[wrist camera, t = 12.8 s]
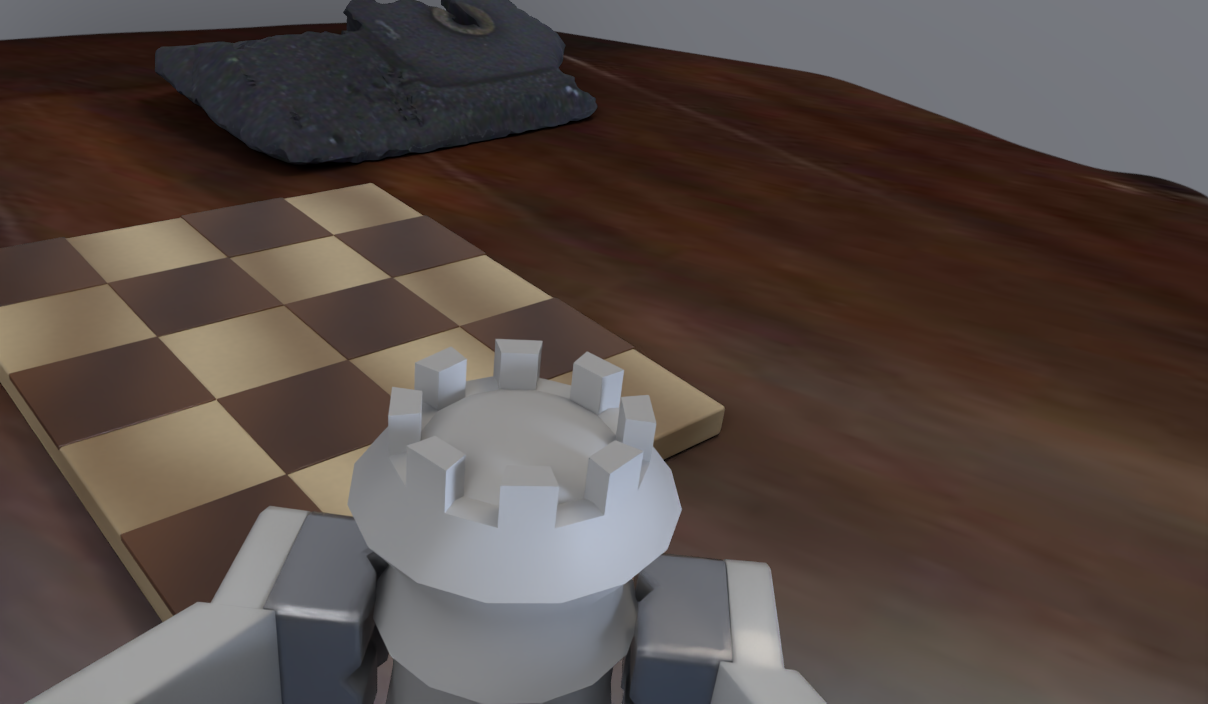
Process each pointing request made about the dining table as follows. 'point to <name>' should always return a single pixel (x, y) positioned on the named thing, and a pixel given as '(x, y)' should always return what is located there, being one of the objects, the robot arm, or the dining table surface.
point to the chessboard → (264, 363)
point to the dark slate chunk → (384, 82)
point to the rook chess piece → (511, 528)
